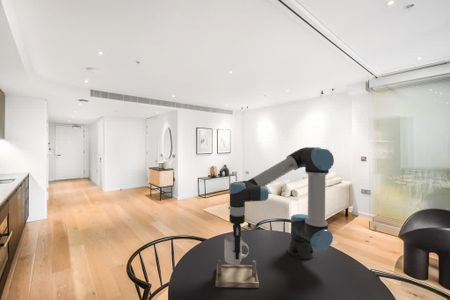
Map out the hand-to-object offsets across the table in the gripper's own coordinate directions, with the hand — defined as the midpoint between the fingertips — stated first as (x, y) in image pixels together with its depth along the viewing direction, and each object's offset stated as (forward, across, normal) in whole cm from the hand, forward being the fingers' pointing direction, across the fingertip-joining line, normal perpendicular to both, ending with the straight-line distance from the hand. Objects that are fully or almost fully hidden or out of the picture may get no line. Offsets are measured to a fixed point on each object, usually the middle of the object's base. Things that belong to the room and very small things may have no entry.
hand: (236, 259), depth 101 cm
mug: (+1, 0, 0) cm, 1 cm away
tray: (+9, 0, 0) cm, 9 cm away
